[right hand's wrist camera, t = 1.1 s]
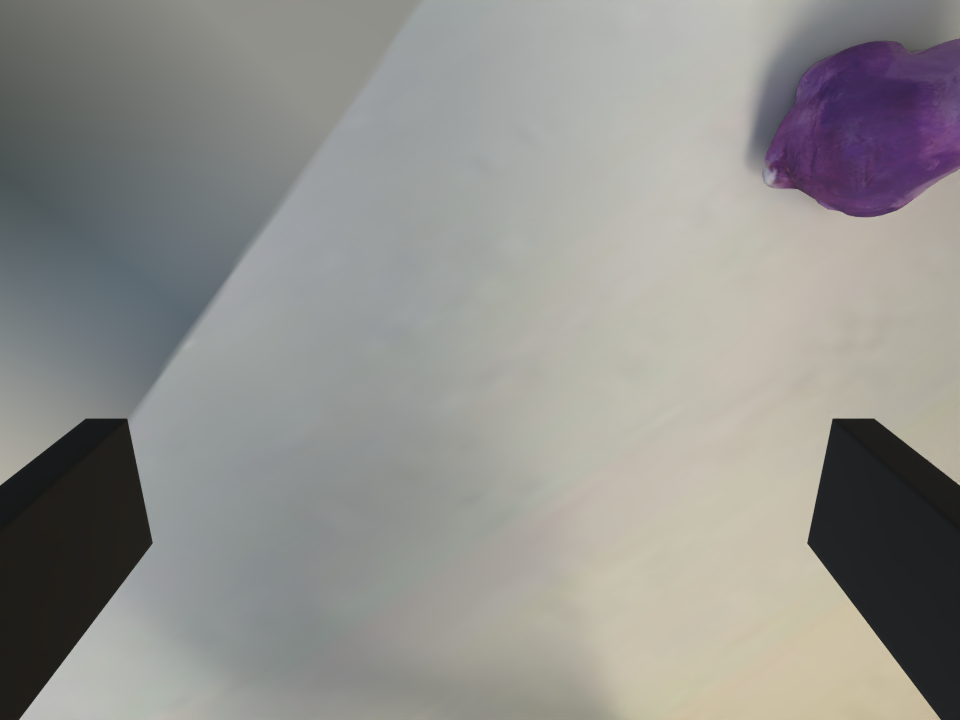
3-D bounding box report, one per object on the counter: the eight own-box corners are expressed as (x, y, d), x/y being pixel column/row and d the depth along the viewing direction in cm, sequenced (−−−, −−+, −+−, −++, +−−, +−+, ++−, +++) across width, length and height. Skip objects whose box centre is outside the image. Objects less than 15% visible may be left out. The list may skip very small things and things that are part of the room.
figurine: (990, 38, 34) (1340, -9, 20) (893, 229, 38) (1135, 301, 24) (823, -19, 34) (1070, -110, 19) (740, 182, 37) (898, 228, 23)
